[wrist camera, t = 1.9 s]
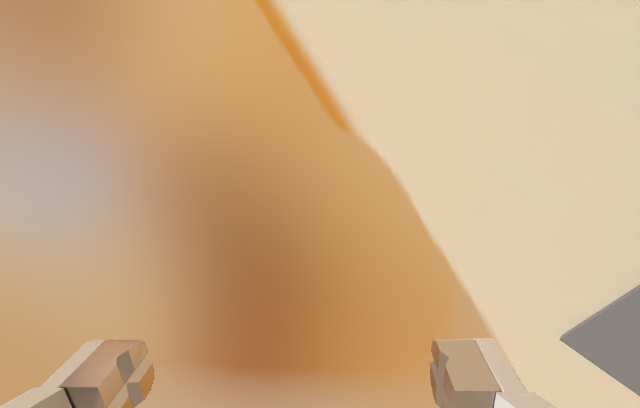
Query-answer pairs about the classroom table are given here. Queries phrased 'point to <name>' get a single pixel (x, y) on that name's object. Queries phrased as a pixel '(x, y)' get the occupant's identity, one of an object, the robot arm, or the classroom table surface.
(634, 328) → the mat
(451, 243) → the classroom table surface
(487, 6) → the classroom table surface
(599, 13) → the classroom table surface
